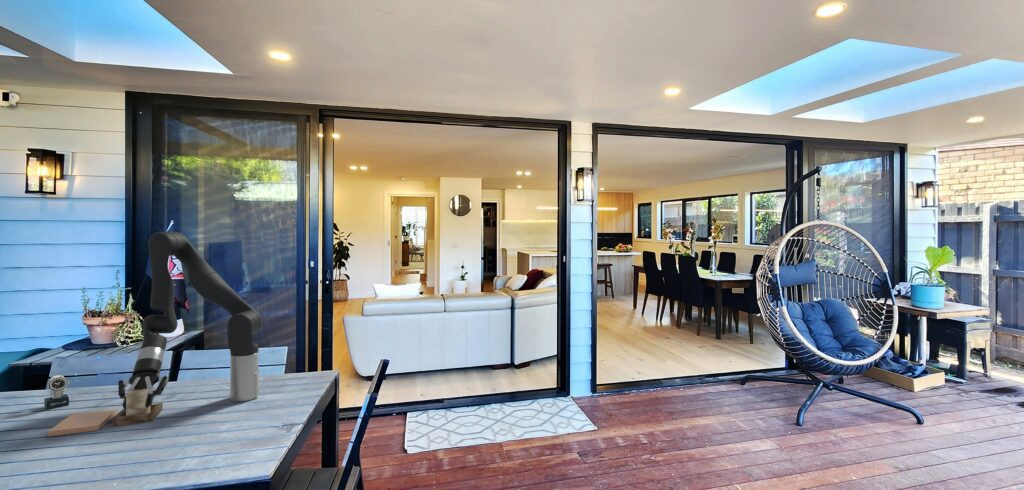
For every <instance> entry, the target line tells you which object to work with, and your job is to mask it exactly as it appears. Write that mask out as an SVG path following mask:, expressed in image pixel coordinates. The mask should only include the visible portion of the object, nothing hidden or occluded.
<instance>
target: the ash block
mask: <svg viewBox="0 0 1024 490" xmlns="http://www.w3.org/2000/svg"><path fill="white" fill-rule="evenodd" d="M148 391H149V389H148V388H147V389H137V390H133V391H130V392H129V393H128V394H127V395H126V416H129V415H137V414H145V413H150V406H149V407H147V408H146V406H145V403H146V399H147V395H149V392H148Z"/></svg>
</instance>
